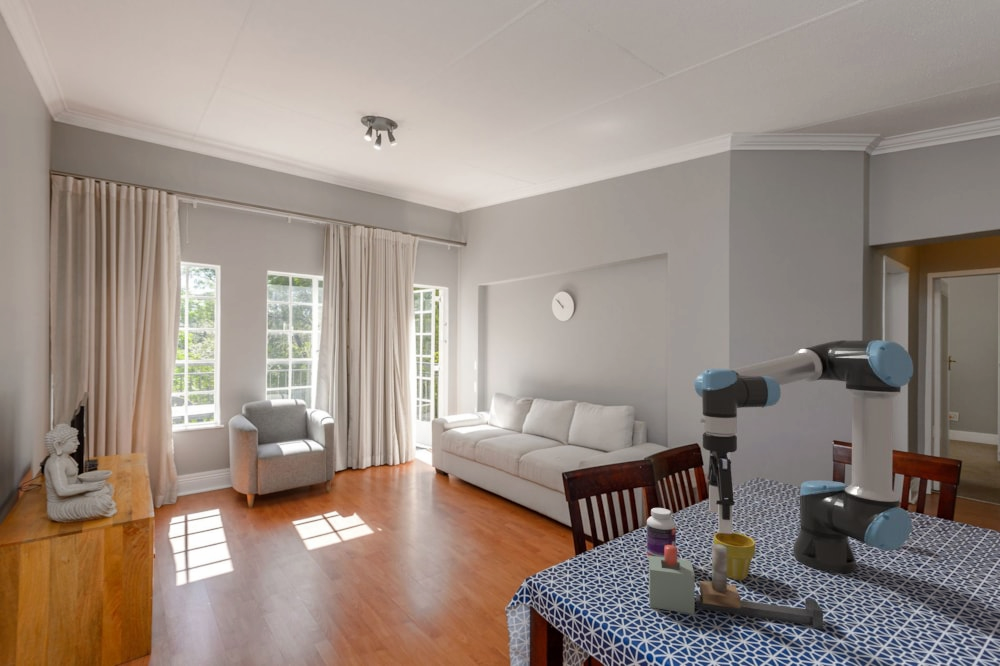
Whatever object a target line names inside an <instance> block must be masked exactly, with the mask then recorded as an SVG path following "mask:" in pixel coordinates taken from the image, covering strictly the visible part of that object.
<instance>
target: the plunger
mask: <svg viewBox="0 0 1000 666" xmlns="http://www.w3.org/2000/svg"><path fill="white" fill-rule="evenodd" d="M677 559H678V547H677V545H676V546H673V545H665V546H664V563H665V564H666V565H667V566H671V567H675V566H677Z"/></svg>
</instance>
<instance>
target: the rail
mask: <svg viewBox="0 0 1000 666" xmlns="http://www.w3.org/2000/svg"><path fill="white" fill-rule="evenodd" d="M804 600H805V601H804V605H805V607H804V608H801V607H800V608H798V607H791V606H784V605H777V604H770V603H763V602H755V601H748V600H741V599H740V608H734V607H726V606H719V605H712V604H705V603H703V601H702V597H701V594H697V593H696V594H695V604H696V607H697V610H703V611H708V612H717V613H723V614H730V615H736V616H743V617H750V618H751V617H752V618H757V619H765V620H771V621H778V622H784V623H793V624H800V625H806V626H811V627H812V629H817V630H824V610H823V609H822V607H821V606H820V604H819V603H818V602H817V601H816V599H812V598H805V599H804Z"/></svg>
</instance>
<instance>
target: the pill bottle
mask: <svg viewBox="0 0 1000 666" xmlns="http://www.w3.org/2000/svg"><path fill="white" fill-rule="evenodd" d="M650 515H651V516H649V517H648V518H647V520H646V558H647V560H649V556H657V557H664V546H665V545H673V546H676V547H677V545H676V542H677V541H676V539H677V538H676V531H677V529H676V528H677V525H676V522H675V520H674V519H672V511H671V510H669V509H666V508H663V507H653V508H651V510H650Z"/></svg>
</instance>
